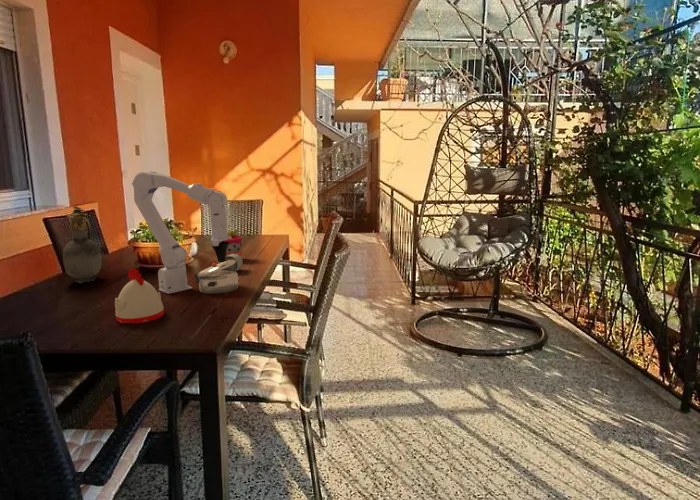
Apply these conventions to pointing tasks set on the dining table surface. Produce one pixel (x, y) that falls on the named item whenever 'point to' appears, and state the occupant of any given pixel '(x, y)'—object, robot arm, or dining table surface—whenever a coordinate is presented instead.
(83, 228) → the grey rounded bottle shape
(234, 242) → the cake
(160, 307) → the kitchen timer
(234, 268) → the ceramic mug
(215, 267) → the cooker lid
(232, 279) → the cooker pot
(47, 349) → the dining table surface
